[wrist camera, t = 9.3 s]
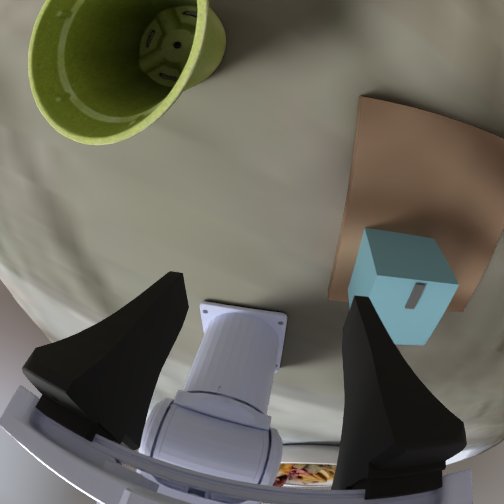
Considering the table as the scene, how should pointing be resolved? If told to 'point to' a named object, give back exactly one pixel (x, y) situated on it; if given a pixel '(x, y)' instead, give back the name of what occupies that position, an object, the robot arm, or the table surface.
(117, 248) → the table surface
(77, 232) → the table surface
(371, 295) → the blue cube with slot
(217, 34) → the plant pot
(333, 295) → the panel
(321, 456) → the bowl
